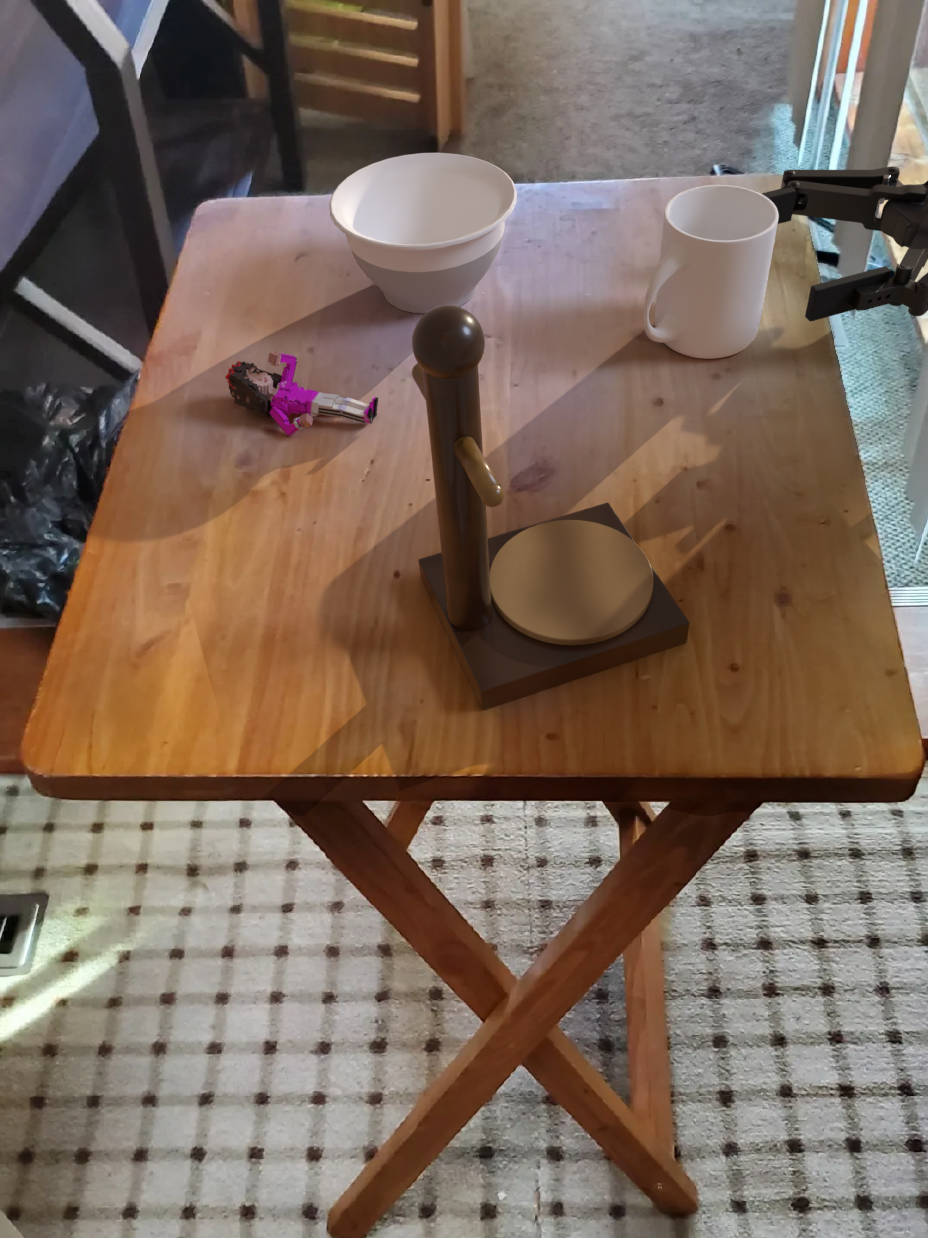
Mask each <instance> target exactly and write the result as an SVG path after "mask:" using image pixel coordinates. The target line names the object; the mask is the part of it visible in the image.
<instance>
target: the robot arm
mask: <svg viewBox="0 0 928 1238" xmlns="http://www.w3.org/2000/svg"><path fill="white" fill-rule="evenodd" d="M900 173H901V168H900V167H897V166H893V165H892V166H885V167H880V168H874V169H786V170H784V171H783V173H782V180H781V185H780V188H778V189H774V190H769V191H765V192H762V193H760V194H762V195H764V196H766V197H767V198H768V199H770V200H771V201H772V202H773V203H774V204H775V206H776V208H777V210H778V214H779V218H778V224H777V225H781V224H785V223H787V222H791V221H792V218H793V215H796V216H802V217H811V218H818V219H827V220H835V221H842V222H849V223H858V224H862V226H863V228H864V229H865V230H868V231H877V232H881V233H883V234H885V235H886V236H889V237H890V238H892V239H893V241H894V242H895V243H896V244H897V245H898V246H900V247H901V248H904V247H905V248H908V249H907V250H906V252H905V253H904V255H903V257H902V259H901V260H900V263H896V267H895V271H894V275H893V276H892V277H891V274H892V270H891V269H890V268H889V267H887V266H886V265H885V266H880V267H877V268H873V269H869V270H865V271H862V272H858V273H855V274H851V275H847V276H844V277H843V276H842V277H839V278H836V279H832V280H829V281H825V282H821V283H817V284H813V285H811V286H810V291H809V295H808V301H807V305H806V309H805V314H804V317H805V319H807V321H809V322H815V321H818V320H821V319H825V318H829V317H832V316H836V315H840V314H843V313H848V312H851V311H855V310H856V311H857V312H858V311H859V312H860V311H861V312H862V311H867V310H870V309H875V308H878V307H882V306H884V305H890V306H893V307H901V306H902V305H903V306H905V307H906V308H908V309H907V312H908V314H909V315H911V316H913V317H922V316H923V315H925V314H926V313H927V312H928V272H926V273H925V274H924V275H922V276H921V277H920V278H919V279H918V280H917V278H918V276H919V274H920V273H921V271H922V269H923V268H924V267H925V266H926V264H927V263H928V180H926V181H925V182H924V183H920V184H919V183H918V184H903V183H902V181H901V180H900V179H899V178H900ZM878 205H883V207H882V211H881V215H880V217H877V216H876V213H877V209H878V208H877V207H878ZM916 280H917V281H916Z"/></svg>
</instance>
